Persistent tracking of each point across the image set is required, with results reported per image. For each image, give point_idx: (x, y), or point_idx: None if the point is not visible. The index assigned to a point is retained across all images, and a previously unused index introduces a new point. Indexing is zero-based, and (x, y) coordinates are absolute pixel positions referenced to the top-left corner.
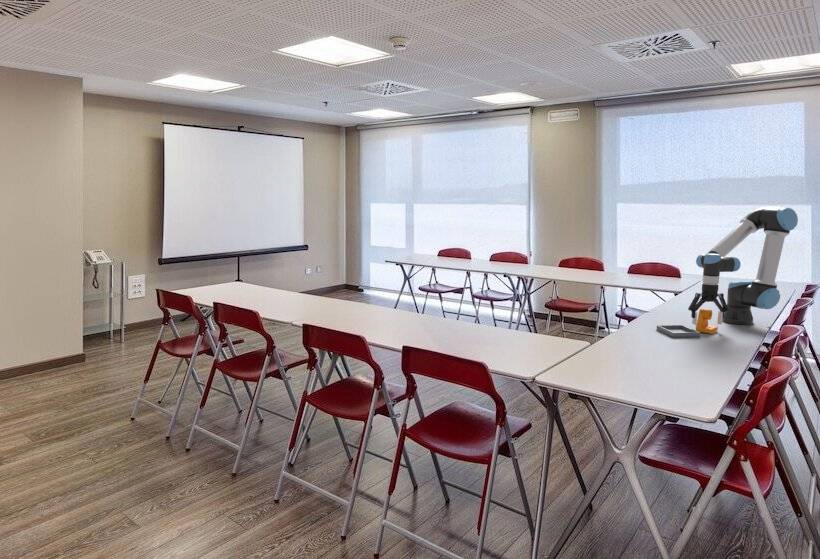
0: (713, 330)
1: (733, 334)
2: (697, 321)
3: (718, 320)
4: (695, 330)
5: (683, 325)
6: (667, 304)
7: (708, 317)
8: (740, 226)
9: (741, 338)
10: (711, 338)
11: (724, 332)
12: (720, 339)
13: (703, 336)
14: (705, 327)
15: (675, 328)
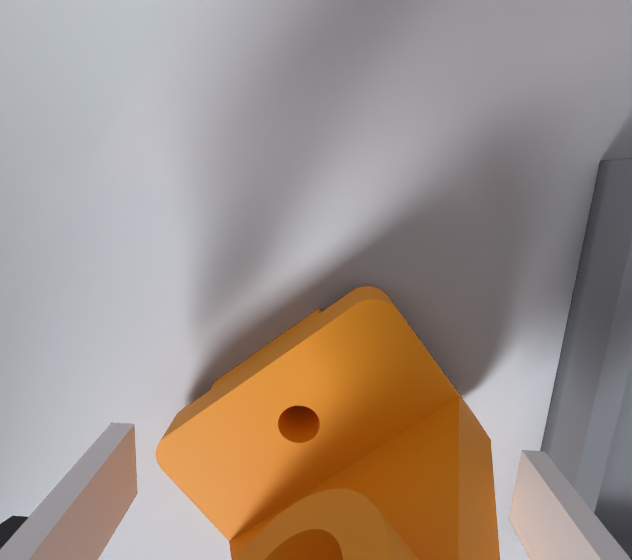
0: (289, 340)
1: (69, 249)
2: (494, 513)
3: (112, 513)
4: (622, 288)
5: None
6: None
7: (362, 508)
8: None
9: (81, 26)
10: (490, 84)
11: (124, 355)
12: (406, 11)
13: (517, 203)
14: (359, 422)
15: (629, 539)
